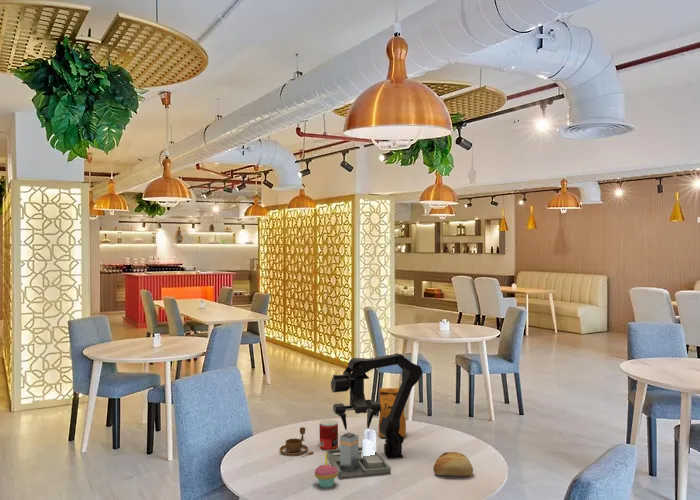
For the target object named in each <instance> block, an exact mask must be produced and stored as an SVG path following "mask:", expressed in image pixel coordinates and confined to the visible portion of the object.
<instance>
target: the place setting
mask: <svg viewBox="0 0 700 500" xmlns="http://www.w3.org/2000/svg"><path fill="white" fill-rule="evenodd" d="M299 434H300V435H301V437H300V438H301V439H300V438H294V437H293V438H288V439H286V440H285V445H282V446H280V447H279V453H280V454H281V455H284V456H286V457H295V456H296V457H299V456H301V457H300V458H301V459H302V458H304V457H307V456H311V455H312V454H314V451H309V452H308V450H309V447H308V446H307V445H305V444H303V441H304V435H305V434H306V427H304V426H303V427H299ZM301 449H304V450H303V451H300V450H301ZM285 450H287V451H289V452H285ZM299 451H300V452H299ZM307 452H308V453H307ZM306 453H307V454H306ZM304 454H305V455H304ZM302 455H303V456H302Z"/></svg>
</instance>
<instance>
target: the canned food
mask: <svg viewBox="0 0 700 500" xmlns="http://www.w3.org/2000/svg"><path fill="white" fill-rule="evenodd" d="M338 446H339V423H338V421H337V420H334V419H324V420H321V421H319V448H320V450H322V451H326V450H334V449H338Z"/></svg>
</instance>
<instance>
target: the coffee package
mask: <svg viewBox="0 0 700 500" xmlns="http://www.w3.org/2000/svg"><path fill="white" fill-rule="evenodd" d="M399 388H400V387H398V388H397V387H396V388H395V387H394V388H393V387H392V388H391V387H389V388H388V387H385V388H382V387H381V388H378V389H379V390H378V395H379V404H380V405H381V411H379V418H378V436H379V437H380V438H384V436H383V435H382V434H381V433H380V426H379V425H380V423H381V421H382V418H383V417H385V418H386V417H387V416H388V415H389V414H390V411H391V409H392V406H393V404H394V401H395V398H396V396H397V393H398V391H399ZM406 420H407V419H406V416H405V409H404V410H403V412H402V415H401V418H400V430H399V434H400V435H401V436H402V437H403V438H404V439H405V436H406V434H407V431H406V430H407V423H406V422H407V421H406Z"/></svg>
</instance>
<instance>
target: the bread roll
mask: <svg viewBox="0 0 700 500" xmlns="http://www.w3.org/2000/svg"><path fill="white" fill-rule="evenodd" d="M432 469H433V472H434V474H436V475H438V476H457V477H470V476H471V475H472V474H473V472H474V467H473V465H472V463H471V461H470V459H469V458H468V457H467V456H466V455H465V454H463V453H461V452H457V451H448V452H444V453H442V454H440V455H439V457H437V459H436V460H435V463H434V465H433V468H432Z"/></svg>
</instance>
